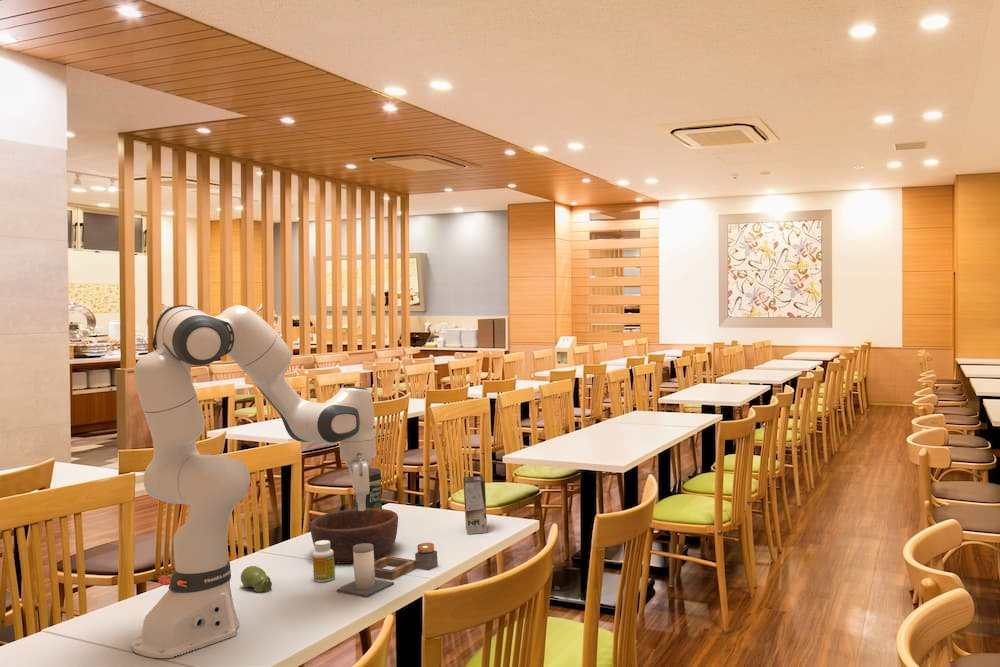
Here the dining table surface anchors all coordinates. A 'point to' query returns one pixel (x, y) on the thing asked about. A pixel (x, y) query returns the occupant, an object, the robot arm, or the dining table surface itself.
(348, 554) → the wooden bowl
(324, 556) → the supplement bottle
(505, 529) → the dining table surface
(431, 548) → the plunger
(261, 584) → the pear
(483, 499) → the coffee box
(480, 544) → the dining table surface
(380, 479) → the coffee jar
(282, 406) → the robot arm
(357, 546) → the cylinder
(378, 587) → the pad
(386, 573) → the square wooden frame
